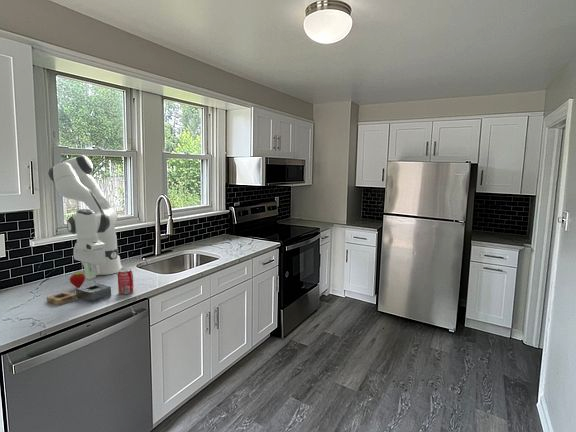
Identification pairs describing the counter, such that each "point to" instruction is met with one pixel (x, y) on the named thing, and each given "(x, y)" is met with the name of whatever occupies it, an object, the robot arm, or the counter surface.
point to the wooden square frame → (61, 298)
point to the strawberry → (77, 279)
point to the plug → (88, 271)
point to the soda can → (125, 281)
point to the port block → (93, 292)
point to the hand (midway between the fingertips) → (89, 270)
